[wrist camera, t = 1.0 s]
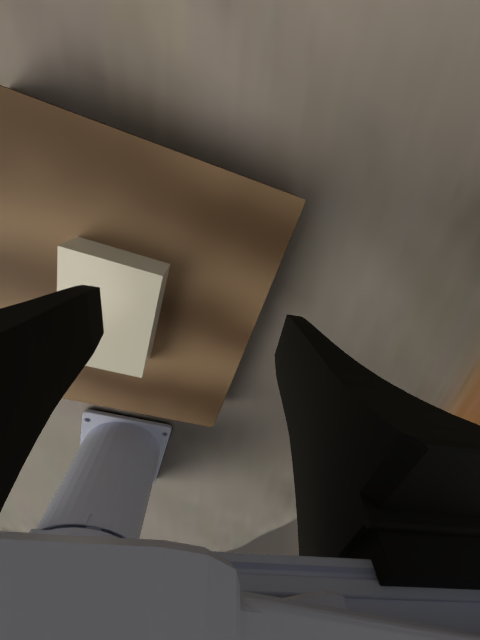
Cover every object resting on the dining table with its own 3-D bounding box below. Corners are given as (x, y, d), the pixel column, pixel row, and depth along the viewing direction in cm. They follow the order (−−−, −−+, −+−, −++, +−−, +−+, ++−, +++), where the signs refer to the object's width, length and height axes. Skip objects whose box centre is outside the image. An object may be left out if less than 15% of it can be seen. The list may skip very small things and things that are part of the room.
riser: (214, 400, 25) (212, 427, 22) (23, 359, 22) (-5, 385, 20) (294, 194, 17) (306, 200, 14) (7, 87, 14) (-44, 69, 11)
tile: (150, 358, 19) (141, 378, 17) (72, 340, 18) (56, 359, 16) (170, 263, 16) (162, 276, 14) (77, 236, 15) (57, 245, 13)
